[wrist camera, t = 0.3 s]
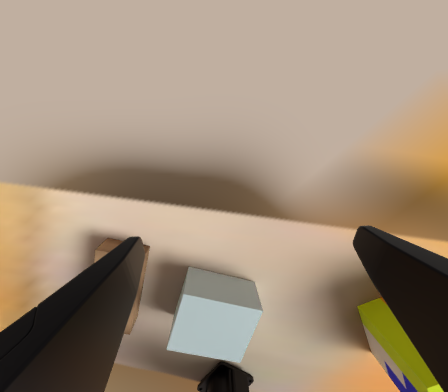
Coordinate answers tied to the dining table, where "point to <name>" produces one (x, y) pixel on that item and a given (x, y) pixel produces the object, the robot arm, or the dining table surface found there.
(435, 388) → the puzzle toy
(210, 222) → the dining table surface
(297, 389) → the dining table surface
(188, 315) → the block
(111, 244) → the board
